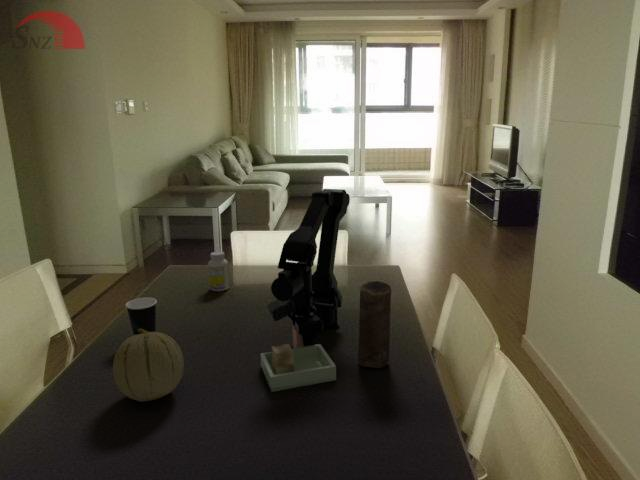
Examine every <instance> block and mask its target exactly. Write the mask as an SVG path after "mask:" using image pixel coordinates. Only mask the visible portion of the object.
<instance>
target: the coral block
mask: <svg viewBox="0 0 640 480" xmlns="http://www.w3.org/2000/svg"><path fill="white" fill-rule="evenodd" d="M295 328H296V326H295V325H293V324H292V342H293V343H292V345H293V348H298V347H304V346H303V341H302V337H301V335H300V334H298V333H297V331H296V330H295Z"/></svg>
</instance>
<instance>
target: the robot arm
mask: <svg viewBox="0 0 640 480" xmlns="http://www.w3.org/2000/svg"><path fill="white" fill-rule="evenodd" d="M350 201H351V199H350V194H349V193H347V190H345V189H336V188H335V189H333V188H332V189H330V188H324V189H322V190H316V191H313V192H312V193H311V201H310V203H309V205H308V207H307V209H306V211H305V214H304V216H303V218H302V220H301V223H300V224H299V227H298V228H297V229H295V230H294V231H292V232H291V233H289V235H288V237H287V238H286V240H285V241H284V243H283V245H282V249H281V253H280V256H279V260H278V263H277V269H279V270H281V271H279V272H277V273H278V274H277V277H276V278H275V279H274V280H273V281H272V283H271V286H270V289H271V294H272V295H273V297H274V299H276V300H274V301H271V302H270V303H268V304H267V305H266V308H267V310H268V311H269V314H270V317H271V318H272V320H273V322H278V321H280V320H282V319H284V318H286V317H288V318H289V319H290V320H291V324H292V326H293V325H295V326H296V328H295V330H296V331H297V333H298V334H300V335H301V337H302V341H303V346H311V345H314V342H315V340H316V338H317V336H318V334H319V333H320V332H324V331H325V330H331V329H332V330H333V329H337V328H338V329H339V328H340V324H339V323H338V309H339V308H341V307H342V303H343V295H342V294H341V291H340V290H339V289H338V280H337V278H336V276H335V274H334V268H335V261H336V253H337V252H336V251H337V244H338V236H339V230H340V229H339V228H340V222H341V220H342V219H343V218H344V217H345V215H346V214H347V211H348V207H349V205H350ZM320 229H321V230H320ZM319 231H320V239H319V246H317V241H316V240H317V239H316V238H317V236H318V234H319ZM317 248H318V250H317ZM317 251H318V254H317ZM316 256H317V262H316V269H315V271H314V272H313V271H312V267H313V266H314V265H315V263H314V262H315V259H316Z"/></svg>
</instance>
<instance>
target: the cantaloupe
mask: <svg viewBox="0 0 640 480" xmlns="http://www.w3.org/2000/svg"><path fill="white" fill-rule="evenodd" d="M137 332H141V333H140V334H137V335H134V334H133V335H132V336H130V337H127V338H126V339H125V340H124V341H123V342H122V343H121V344H120V345H119V348H118V349H117V351H116V353H115V356H114V358H113V362H112V363H113V364H112V365H113V366H112V369H113V370H112V372H113V379H114V381H115V384H116V386H117V388H118V389H119V391H120V392H121V393H122V394H123V395H125V396H126V397H127V398H129V399H132V400H134V401H137V402H141V403H142V402H143V403H144V402H150V401H155V400H157V399H160V398H163V397H164V396H167V395H168V394H170V393H171V392H173V390H175V389H176V387H177V385H178V384H179V383H180V381H181V380H182V377H183V374H184V366H185V360H184V355H183V352H182V350H181V347H180V346H179V344H178V343H177V342H176V340H174V338H172V337H171V336H169V335H168V334H166V333H162V332H159V331H156V332H147V331H145V330H144V329H138V331H137Z"/></svg>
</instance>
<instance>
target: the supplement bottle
mask: <svg viewBox="0 0 640 480" xmlns="http://www.w3.org/2000/svg"><path fill="white" fill-rule="evenodd" d="M209 256H210V258H211V260H209V261H208V274H209V286H210V290H211V291H212V292H224V290H225V291H227V290H228V289H229V288H230V287H231V285H230V284H231V283H230V273H229V272H230V271H229V270H230V269H229V262H228V260H227V259H226V258H225V252H224V251H212V252H211V253H210V255H209Z"/></svg>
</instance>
